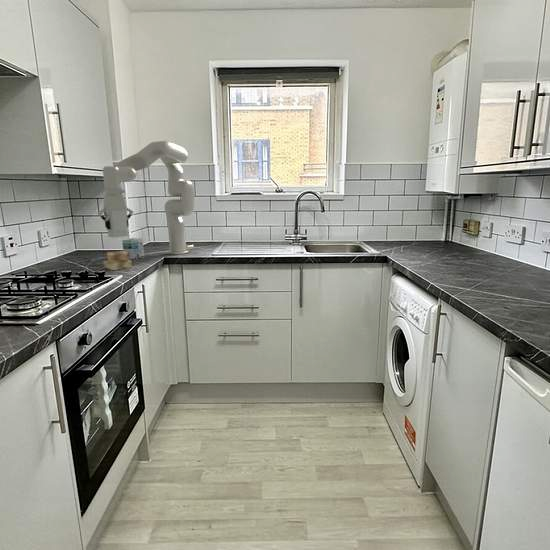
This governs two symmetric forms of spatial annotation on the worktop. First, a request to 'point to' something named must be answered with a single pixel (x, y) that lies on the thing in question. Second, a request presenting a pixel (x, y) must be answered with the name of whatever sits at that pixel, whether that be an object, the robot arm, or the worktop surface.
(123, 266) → the tower base block
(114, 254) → the tower top block
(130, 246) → the light bulb box
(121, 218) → the supplement box
